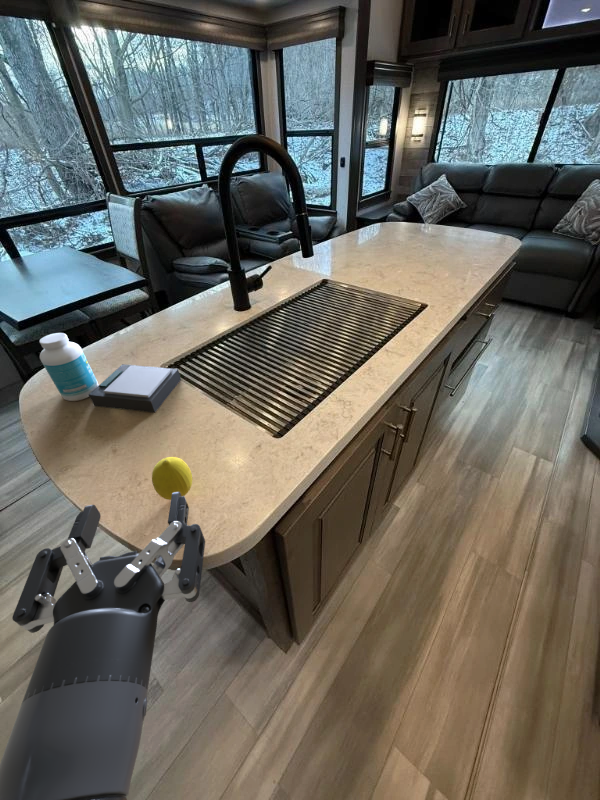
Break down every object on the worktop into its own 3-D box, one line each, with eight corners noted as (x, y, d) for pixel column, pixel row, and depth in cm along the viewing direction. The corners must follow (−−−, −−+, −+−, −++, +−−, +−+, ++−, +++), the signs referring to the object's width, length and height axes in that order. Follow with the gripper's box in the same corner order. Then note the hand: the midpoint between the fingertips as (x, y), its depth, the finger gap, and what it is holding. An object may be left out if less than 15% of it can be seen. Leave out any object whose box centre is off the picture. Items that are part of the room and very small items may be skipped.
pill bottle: (106, 389, 75) (81, 335, 67) (74, 406, 70) (43, 350, 62) (88, 379, 78) (61, 326, 70) (56, 395, 73) (23, 340, 65)
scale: (94, 406, 70) (87, 392, 68) (126, 374, 79) (121, 361, 77) (155, 412, 68) (149, 399, 66) (181, 379, 77) (177, 366, 75)
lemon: (203, 485, 54) (193, 451, 49) (183, 514, 50) (169, 480, 45) (174, 477, 55) (161, 443, 50) (152, 504, 51) (136, 470, 46)
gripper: (181, 665, 21) (198, 469, 34) (-73, 721, 19) (46, 491, 32) (204, 694, 26) (211, 512, 38) (2, 741, 24) (79, 533, 36)
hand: (136, 502), depth 35 cm, fingers open, 8 cm apart
